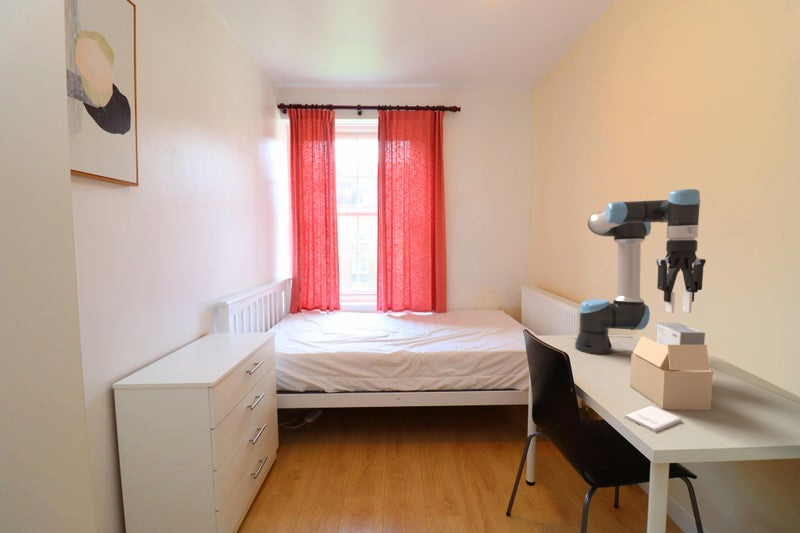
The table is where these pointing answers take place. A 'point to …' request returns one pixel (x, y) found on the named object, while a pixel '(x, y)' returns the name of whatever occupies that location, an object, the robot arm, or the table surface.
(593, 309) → the robot arm
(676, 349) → the flap
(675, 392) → the carton
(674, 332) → the hard drive box
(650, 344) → the flap
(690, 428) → the table surface
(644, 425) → the external hard drive
